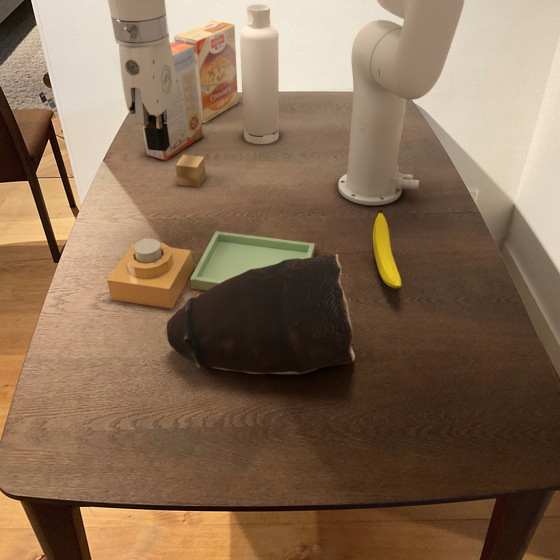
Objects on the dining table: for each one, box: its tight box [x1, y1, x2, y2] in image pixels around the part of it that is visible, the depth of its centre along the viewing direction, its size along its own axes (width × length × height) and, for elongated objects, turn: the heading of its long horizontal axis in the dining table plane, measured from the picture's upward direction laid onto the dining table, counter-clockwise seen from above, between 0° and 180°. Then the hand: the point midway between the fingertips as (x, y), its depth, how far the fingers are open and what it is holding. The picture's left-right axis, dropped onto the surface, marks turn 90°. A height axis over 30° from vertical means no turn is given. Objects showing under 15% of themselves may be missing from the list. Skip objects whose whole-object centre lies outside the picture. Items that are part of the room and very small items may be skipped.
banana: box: [372, 208, 402, 289], centre depth 93 cm, size 3×19×6 cm, turn 1°
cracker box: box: [140, 41, 204, 161], centre depth 124 cm, size 14×6×21 cm, turn 149°
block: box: [175, 154, 207, 188], centre depth 117 cm, size 4×4×4 cm
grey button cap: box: [134, 238, 162, 264], centre depth 89 cm, size 4×4×2 cm
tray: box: [189, 230, 316, 292], centre depth 95 cm, size 18×14×2 cm
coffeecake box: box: [173, 20, 239, 124], centre depth 140 cm, size 15×7×20 cm, turn 149°
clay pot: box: [164, 253, 356, 375], centre depth 78 cm, size 15×15×25 cm
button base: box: [106, 241, 195, 310], centre depth 91 cm, size 10×10×6 cm
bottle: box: [239, 4, 280, 145], centre depth 126 cm, size 8×8×28 cm
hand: (159, 148), depth 92 cm, fingers closed
